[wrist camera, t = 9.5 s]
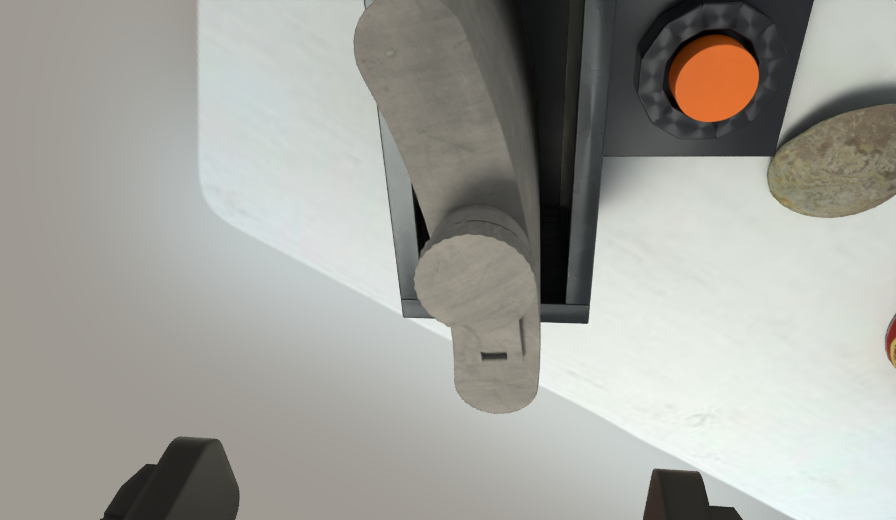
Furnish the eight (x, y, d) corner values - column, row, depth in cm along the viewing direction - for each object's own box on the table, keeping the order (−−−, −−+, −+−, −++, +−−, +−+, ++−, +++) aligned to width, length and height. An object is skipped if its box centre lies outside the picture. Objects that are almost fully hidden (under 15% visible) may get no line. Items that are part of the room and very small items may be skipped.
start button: (663, 109, 31) (669, 122, 30) (674, 35, 29) (681, 45, 28) (740, 108, 31) (749, 122, 29) (756, 32, 29) (767, 43, 27)
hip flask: (431, -75, 31) (309, 28, 14) (512, -96, 30) (480, -10, 14) (491, 204, 39) (457, 469, 23) (556, 194, 38) (569, 464, 22)
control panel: (597, 140, 36) (603, 171, 33) (613, -51, 31) (622, -37, 27) (762, 140, 35) (785, 171, 32) (810, -59, 29) (844, -46, 26)
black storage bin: (426, 219, 41) (398, 317, 32) (392, -171, 29) (334, -173, 21) (578, 221, 39) (588, 324, 31) (606, -186, 28) (634, -194, 19)
